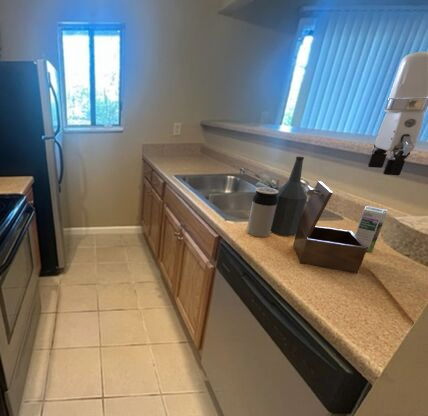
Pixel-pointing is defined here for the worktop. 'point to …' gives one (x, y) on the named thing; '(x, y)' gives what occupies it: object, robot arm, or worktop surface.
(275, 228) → the bottle
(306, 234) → the lid
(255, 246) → the worktop surface
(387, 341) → the worktop surface
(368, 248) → the syrup box
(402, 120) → the robot arm
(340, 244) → the bin
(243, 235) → the worktop surface
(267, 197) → the travel mug
